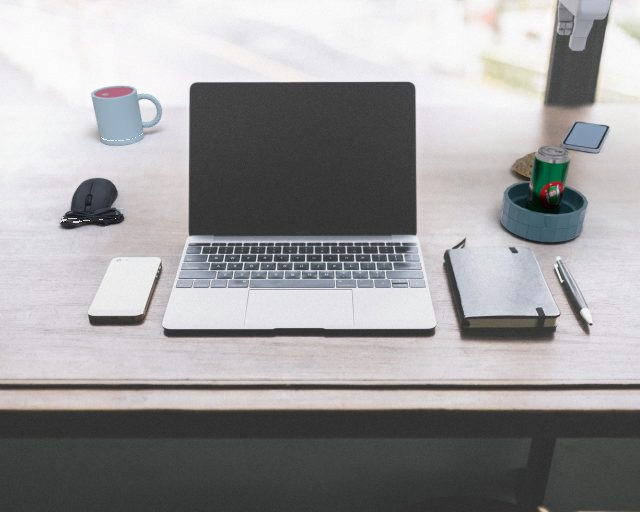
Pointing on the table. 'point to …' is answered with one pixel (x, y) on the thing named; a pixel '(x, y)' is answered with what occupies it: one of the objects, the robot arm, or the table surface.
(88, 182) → the computer mouse
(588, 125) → the smartphone
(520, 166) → the seashell
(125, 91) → the mug
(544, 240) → the bowl
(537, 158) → the soda can
